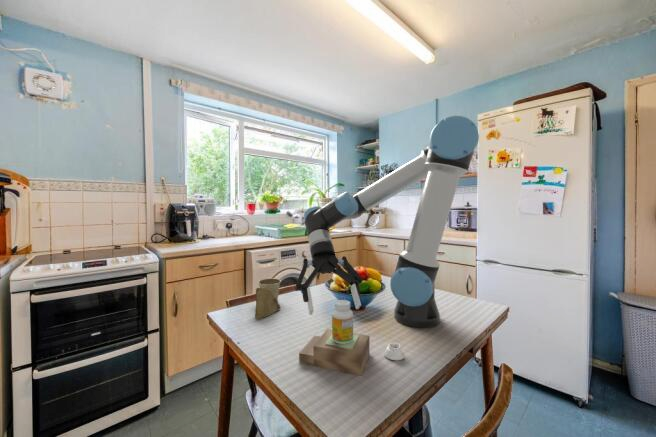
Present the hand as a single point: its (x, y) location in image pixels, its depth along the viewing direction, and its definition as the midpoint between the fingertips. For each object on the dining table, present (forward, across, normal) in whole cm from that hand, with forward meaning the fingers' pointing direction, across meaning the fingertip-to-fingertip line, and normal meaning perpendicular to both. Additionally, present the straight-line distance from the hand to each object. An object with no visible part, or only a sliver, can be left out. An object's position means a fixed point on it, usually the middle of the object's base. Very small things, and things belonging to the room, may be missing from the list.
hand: (335, 309), depth 75 cm
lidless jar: (+13, -14, -3) cm, 19 cm away
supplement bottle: (+8, 0, -1) cm, 8 cm away
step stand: (+11, +1, -5) cm, 12 cm away
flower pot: (-23, +14, -40) cm, 48 cm away
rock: (-14, +16, -31) cm, 37 cm away
